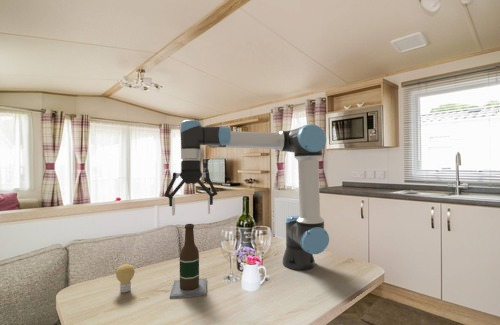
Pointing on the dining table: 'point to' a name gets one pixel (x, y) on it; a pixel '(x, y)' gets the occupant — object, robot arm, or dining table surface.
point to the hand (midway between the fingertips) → (191, 214)
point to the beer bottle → (189, 261)
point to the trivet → (180, 293)
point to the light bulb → (125, 277)
